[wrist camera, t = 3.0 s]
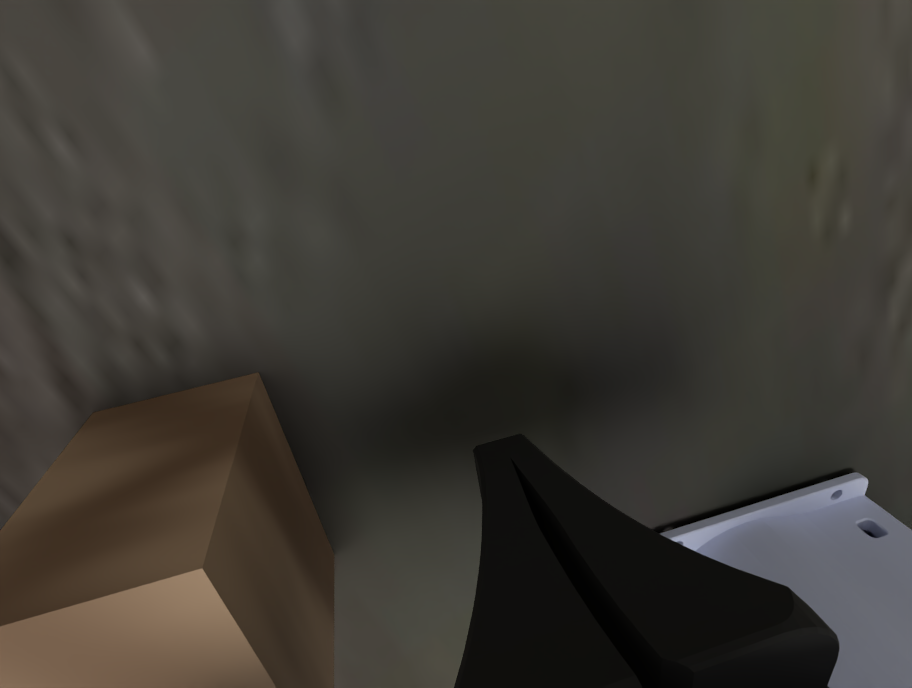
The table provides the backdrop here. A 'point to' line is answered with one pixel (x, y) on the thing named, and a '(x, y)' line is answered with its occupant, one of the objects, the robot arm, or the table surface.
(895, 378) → the table surface
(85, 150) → the table surface
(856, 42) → the table surface
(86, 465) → the walnut block
